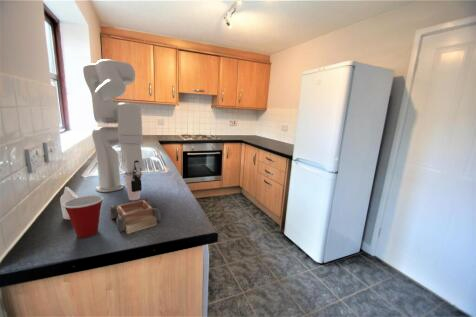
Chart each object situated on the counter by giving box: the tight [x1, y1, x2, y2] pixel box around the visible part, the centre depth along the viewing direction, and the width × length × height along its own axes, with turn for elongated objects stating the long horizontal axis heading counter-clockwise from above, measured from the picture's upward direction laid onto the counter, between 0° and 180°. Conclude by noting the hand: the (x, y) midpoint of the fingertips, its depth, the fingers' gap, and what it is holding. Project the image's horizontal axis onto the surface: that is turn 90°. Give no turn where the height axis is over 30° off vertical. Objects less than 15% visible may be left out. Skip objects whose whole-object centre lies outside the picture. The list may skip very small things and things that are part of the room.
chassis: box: [109, 198, 161, 235], centre depth 82 cm, size 18×14×5 cm
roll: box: [59, 186, 79, 220], centre depth 82 cm, size 6×12×6 cm
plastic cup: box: [63, 194, 104, 239], centre depth 71 cm, size 11×11×12 cm
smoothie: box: [122, 170, 144, 201], centre depth 79 cm, size 6×6×14 cm
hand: (133, 187), depth 79 cm, fingers closed on smoothie, 6 cm apart
